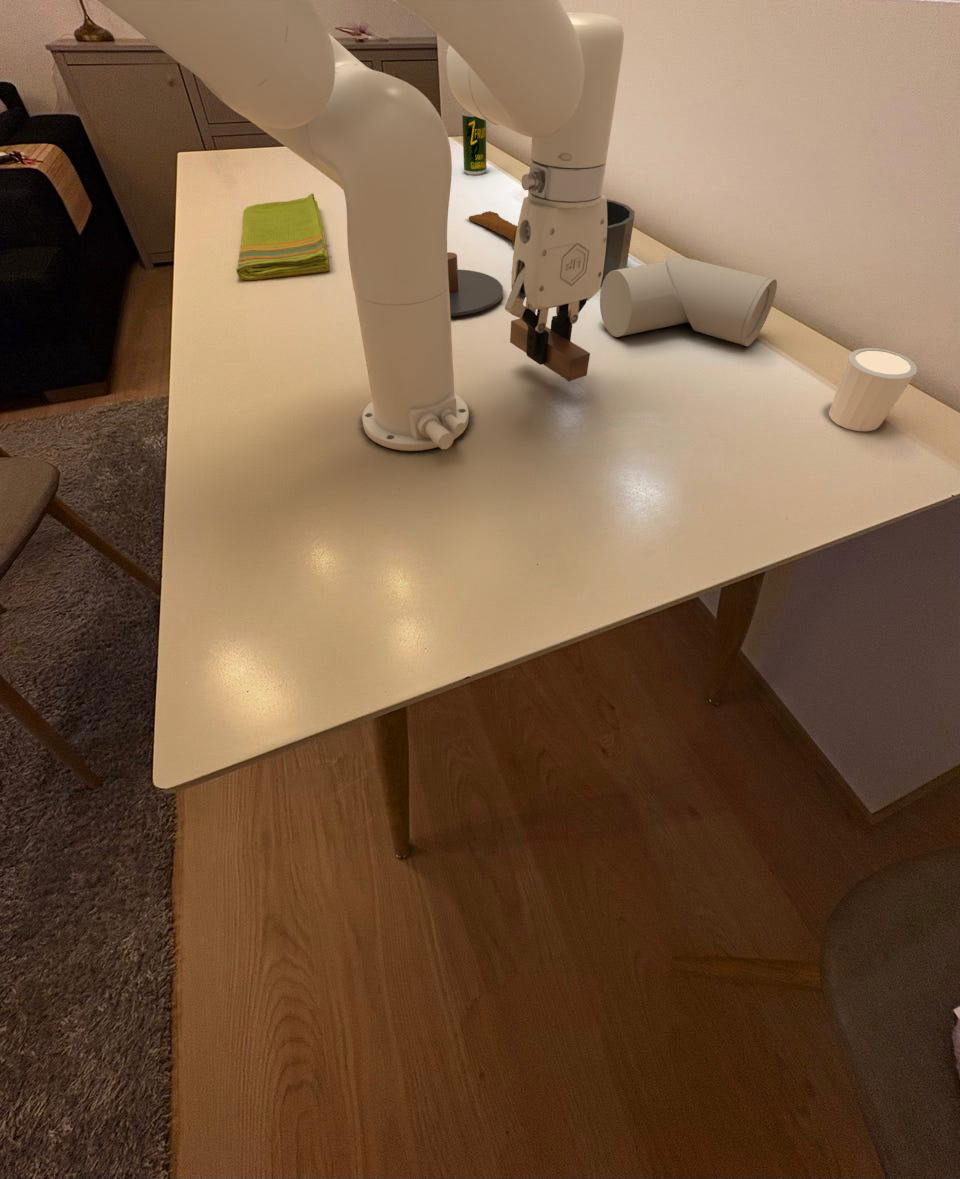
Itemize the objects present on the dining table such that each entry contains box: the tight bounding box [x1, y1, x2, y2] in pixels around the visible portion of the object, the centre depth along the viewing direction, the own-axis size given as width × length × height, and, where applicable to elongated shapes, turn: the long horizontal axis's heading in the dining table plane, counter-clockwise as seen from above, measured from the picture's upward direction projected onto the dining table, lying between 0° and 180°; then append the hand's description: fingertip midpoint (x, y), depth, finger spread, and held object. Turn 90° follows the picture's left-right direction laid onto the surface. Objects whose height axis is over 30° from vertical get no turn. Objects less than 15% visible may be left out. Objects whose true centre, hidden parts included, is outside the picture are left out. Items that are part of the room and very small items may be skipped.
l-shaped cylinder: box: [599, 252, 778, 347], centre depth 83 cm, size 18×11×20 cm
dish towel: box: [235, 192, 330, 281], centre depth 112 cm, size 15×36×3 cm, turn 13°
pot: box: [600, 198, 636, 287], centre depth 99 cm, size 16×16×8 cm
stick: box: [509, 318, 591, 382], centre depth 73 cm, size 12×3×3 cm, turn 33°
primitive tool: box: [468, 210, 518, 245], centre depth 114 cm, size 19×6×4 cm, turn 27°
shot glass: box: [828, 347, 918, 432], centre depth 68 cm, size 7×7×7 cm
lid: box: [447, 251, 504, 317], centre depth 93 cm, size 17×17×6 cm
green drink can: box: [461, 107, 487, 176], centre depth 138 cm, size 5×5×12 cm
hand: (547, 355), depth 74 cm, fingers closed on stick, 2 cm apart
